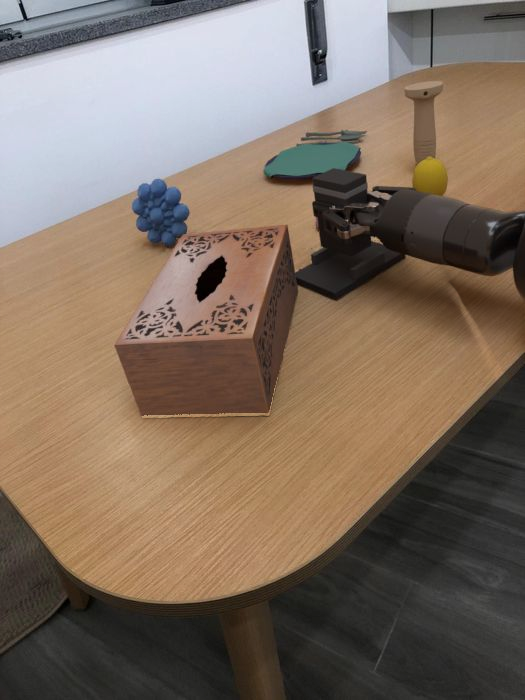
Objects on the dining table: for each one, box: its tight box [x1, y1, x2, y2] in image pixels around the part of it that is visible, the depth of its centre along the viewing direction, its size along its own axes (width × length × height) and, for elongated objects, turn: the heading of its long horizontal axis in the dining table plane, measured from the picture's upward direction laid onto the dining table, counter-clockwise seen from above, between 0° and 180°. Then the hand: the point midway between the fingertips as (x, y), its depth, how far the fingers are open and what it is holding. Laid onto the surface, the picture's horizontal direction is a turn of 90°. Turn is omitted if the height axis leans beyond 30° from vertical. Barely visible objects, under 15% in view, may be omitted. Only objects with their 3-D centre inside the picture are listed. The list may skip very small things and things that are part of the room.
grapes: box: [131, 178, 190, 248], centre depth 101 cm, size 12×7×12 cm, turn 63°
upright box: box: [311, 168, 372, 257], centre depth 81 cm, size 4×6×10 cm
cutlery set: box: [262, 129, 368, 180], centre depth 127 cm, size 20×30×2 cm, turn 157°
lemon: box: [411, 157, 449, 196], centre depth 97 cm, size 6×6×8 cm
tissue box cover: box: [113, 224, 299, 417], centre depth 72 cm, size 26×14×10 cm, turn 170°
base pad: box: [295, 240, 406, 301], centre depth 85 cm, size 14×9×3 cm, turn 129°
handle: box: [404, 80, 444, 167], centre depth 108 cm, size 5×6×15 cm
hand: (327, 201), depth 82 cm, fingers closed on upright box, 4 cm apart
